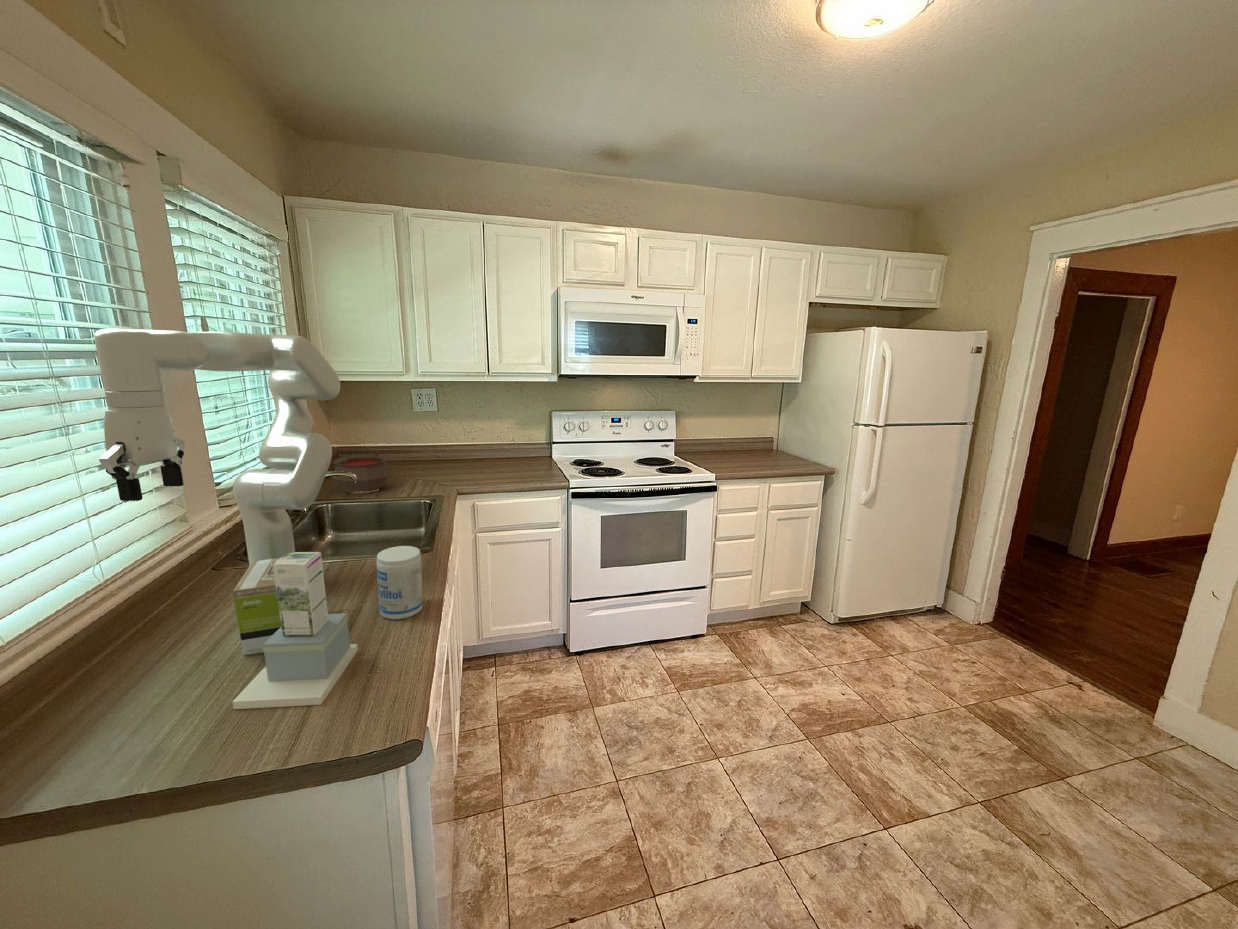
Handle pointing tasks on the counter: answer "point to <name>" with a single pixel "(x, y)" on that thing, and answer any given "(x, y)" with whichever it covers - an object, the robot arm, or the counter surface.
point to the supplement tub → (399, 582)
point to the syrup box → (301, 593)
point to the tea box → (257, 606)
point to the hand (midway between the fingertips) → (153, 492)
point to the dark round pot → (362, 472)
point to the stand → (300, 667)
